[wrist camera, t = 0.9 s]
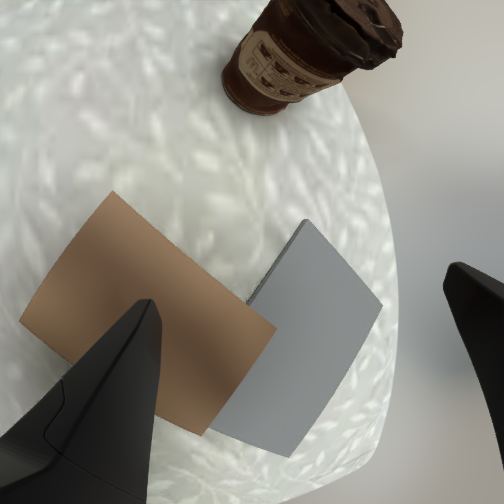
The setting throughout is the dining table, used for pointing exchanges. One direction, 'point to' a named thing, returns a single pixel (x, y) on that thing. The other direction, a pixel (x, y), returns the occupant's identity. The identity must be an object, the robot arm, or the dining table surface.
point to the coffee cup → (308, 50)
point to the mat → (300, 343)
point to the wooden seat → (168, 304)
